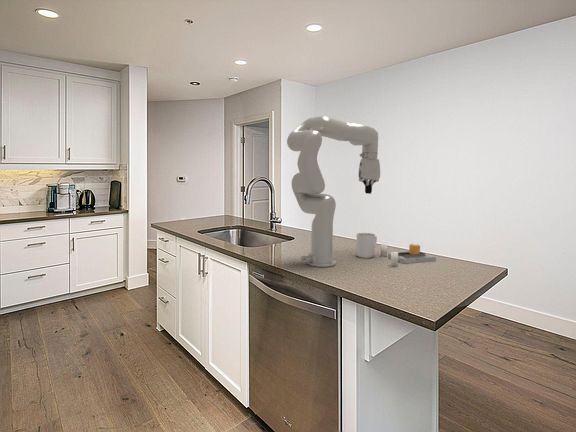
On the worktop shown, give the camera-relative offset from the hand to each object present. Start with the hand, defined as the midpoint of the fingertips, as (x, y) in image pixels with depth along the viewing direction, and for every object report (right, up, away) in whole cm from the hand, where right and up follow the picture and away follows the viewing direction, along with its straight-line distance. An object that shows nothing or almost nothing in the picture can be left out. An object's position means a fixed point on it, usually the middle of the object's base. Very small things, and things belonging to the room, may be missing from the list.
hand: (368, 193), depth 184 cm
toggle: (+20, -30, -8) cm, 37 cm away
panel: (+19, -32, -8) cm, 38 cm away
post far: (+7, -31, -1) cm, 32 cm away
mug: (-1, -32, -2) cm, 32 cm away
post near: (+7, -34, -20) cm, 40 cm away
